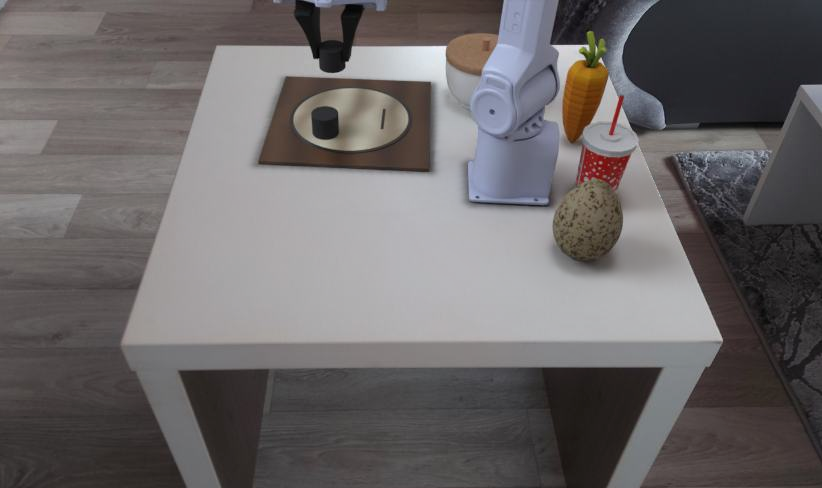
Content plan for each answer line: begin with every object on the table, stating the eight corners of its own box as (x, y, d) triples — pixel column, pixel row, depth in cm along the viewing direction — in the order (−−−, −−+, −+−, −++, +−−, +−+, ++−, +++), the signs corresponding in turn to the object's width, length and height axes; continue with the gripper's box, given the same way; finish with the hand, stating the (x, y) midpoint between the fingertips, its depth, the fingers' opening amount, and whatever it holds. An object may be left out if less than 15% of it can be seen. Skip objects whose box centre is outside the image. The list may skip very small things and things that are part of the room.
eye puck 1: (347, 61, 96) (347, 41, 94) (342, 74, 94) (342, 53, 91) (322, 59, 97) (321, 38, 94) (316, 71, 94) (315, 51, 92)
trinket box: (436, 115, 98) (441, 52, 91) (447, 78, 105) (453, 18, 99) (512, 124, 96) (523, 61, 90) (518, 86, 104) (529, 25, 97)
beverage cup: (626, 212, 83) (661, 108, 73) (577, 217, 82) (606, 113, 72) (606, 181, 87) (636, 79, 77) (559, 186, 86) (584, 84, 76)
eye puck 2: (340, 125, 95) (339, 106, 93) (337, 140, 93) (336, 121, 90) (314, 124, 95) (313, 105, 93) (310, 139, 93) (309, 119, 91)
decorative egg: (621, 273, 75) (647, 201, 68) (556, 277, 75) (576, 205, 68) (599, 230, 80) (621, 158, 73) (538, 234, 80) (555, 162, 73)
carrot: (591, 155, 91) (620, 47, 80) (552, 151, 92) (576, 43, 81) (589, 134, 94) (617, 28, 84) (552, 130, 95) (575, 25, 85)
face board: (430, 84, 104) (431, 80, 104) (428, 171, 88) (428, 167, 88) (286, 79, 105) (285, 75, 105) (258, 164, 90) (257, 159, 89)
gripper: (261, -39, 83) (272, 66, 92) (381, -31, 81) (379, 76, 90) (277, -60, 88) (286, 42, 97) (390, -53, 86) (388, 50, 95)
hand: (332, 57), depth 94 cm, fingers closed on eye puck 1, 3 cm apart
